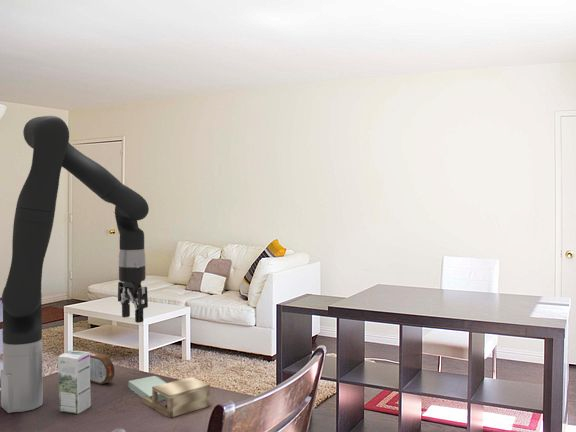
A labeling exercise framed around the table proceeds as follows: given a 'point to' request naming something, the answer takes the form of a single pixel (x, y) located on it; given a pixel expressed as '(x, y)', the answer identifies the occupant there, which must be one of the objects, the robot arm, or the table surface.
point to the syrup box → (74, 381)
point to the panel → (146, 387)
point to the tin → (100, 368)
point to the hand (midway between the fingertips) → (132, 319)
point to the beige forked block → (180, 397)
